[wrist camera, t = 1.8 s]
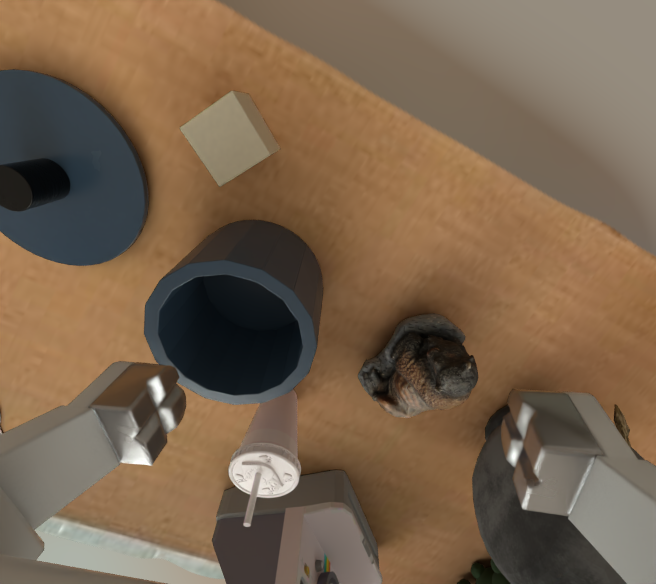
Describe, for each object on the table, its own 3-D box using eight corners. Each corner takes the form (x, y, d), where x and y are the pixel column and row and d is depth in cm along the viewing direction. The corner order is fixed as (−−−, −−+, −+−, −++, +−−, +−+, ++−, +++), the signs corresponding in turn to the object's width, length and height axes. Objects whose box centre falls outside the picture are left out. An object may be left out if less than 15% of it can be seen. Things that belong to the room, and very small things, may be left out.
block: (235, 177, 29) (219, 187, 25) (202, 125, 27) (178, 128, 23) (280, 148, 28) (270, 154, 24) (248, 93, 26) (231, 89, 22)
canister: (244, 352, 37) (215, 423, 29) (168, 258, 33) (107, 310, 24) (345, 304, 34) (346, 368, 26) (277, 194, 29) (250, 227, 21)
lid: (69, 286, 34) (26, 314, 30) (-74, 139, 29) (-156, 145, 24) (188, 211, 30) (160, 229, 26) (51, 25, 25) (-18, 5, 20)
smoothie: (277, 365, 38) (244, 490, 25) (321, 397, 40) (311, 529, 27) (241, 396, 40) (194, 526, 27) (284, 426, 42) (259, 560, 29)
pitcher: (442, 457, 43) (603, 1019, 16) (530, 334, 35) (1152, 1076, 8) (522, 478, 44) (793, 1034, 18) (625, 364, 36) (1446, 1099, 9)
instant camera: (381, 558, 54) (394, 706, 41) (250, 563, 56) (221, 705, 43) (368, 466, 44) (379, 619, 31) (211, 476, 47) (158, 623, 33)
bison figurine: (402, 397, 39) (420, 482, 30) (346, 373, 38) (346, 455, 29) (469, 314, 34) (514, 387, 25) (406, 284, 33) (429, 348, 24)
